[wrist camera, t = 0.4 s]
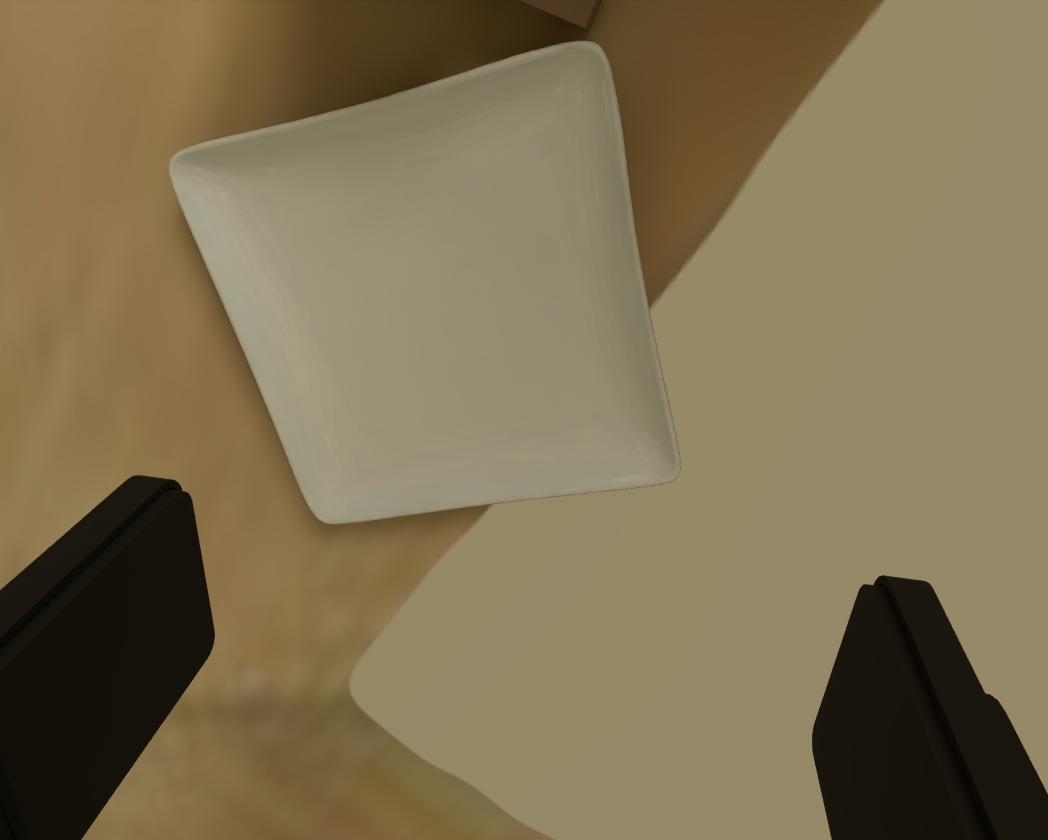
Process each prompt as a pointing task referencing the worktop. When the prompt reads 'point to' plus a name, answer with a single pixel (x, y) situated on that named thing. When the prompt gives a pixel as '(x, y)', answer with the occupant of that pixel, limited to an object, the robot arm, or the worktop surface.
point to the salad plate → (443, 290)
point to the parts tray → (569, 10)
